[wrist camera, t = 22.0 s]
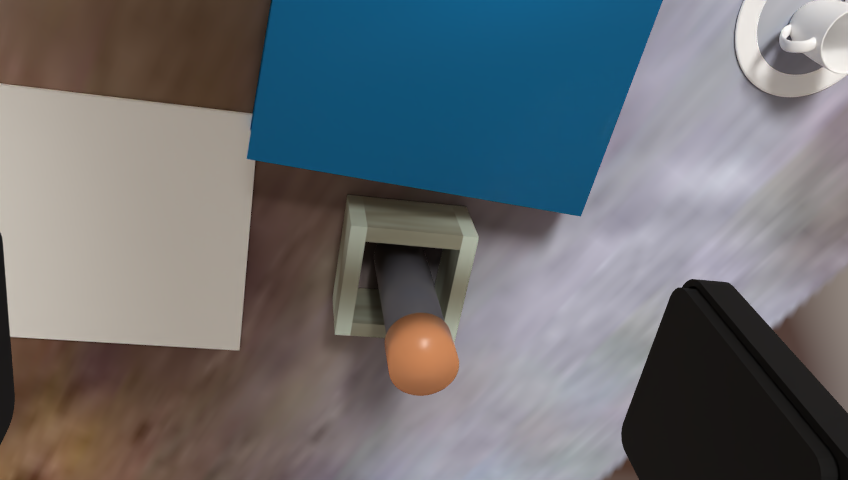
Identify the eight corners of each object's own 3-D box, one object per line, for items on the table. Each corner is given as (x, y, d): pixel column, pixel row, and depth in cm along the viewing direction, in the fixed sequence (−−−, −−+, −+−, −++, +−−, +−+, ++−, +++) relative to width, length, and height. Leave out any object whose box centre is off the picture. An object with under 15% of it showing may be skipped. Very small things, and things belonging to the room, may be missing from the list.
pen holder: (347, 194, 41) (351, 225, 38) (466, 206, 42) (478, 237, 39) (332, 298, 44) (335, 334, 41) (444, 306, 45) (454, 342, 42)
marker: (375, 227, 42) (394, 336, 34) (431, 232, 43) (465, 341, 34) (367, 277, 44) (383, 393, 35) (422, 281, 44) (451, 397, 36)
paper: (-57, 76, 36) (-59, 77, 36) (259, 114, 39) (259, 115, 38) (-31, 332, 42) (-32, 334, 42) (239, 348, 45) (239, 350, 45)
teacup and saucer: (921, -43, 40) (982, -28, 36) (849, 107, 43) (898, 134, 40) (769, -80, 38) (817, -68, 34) (707, 80, 41) (745, 106, 38)
